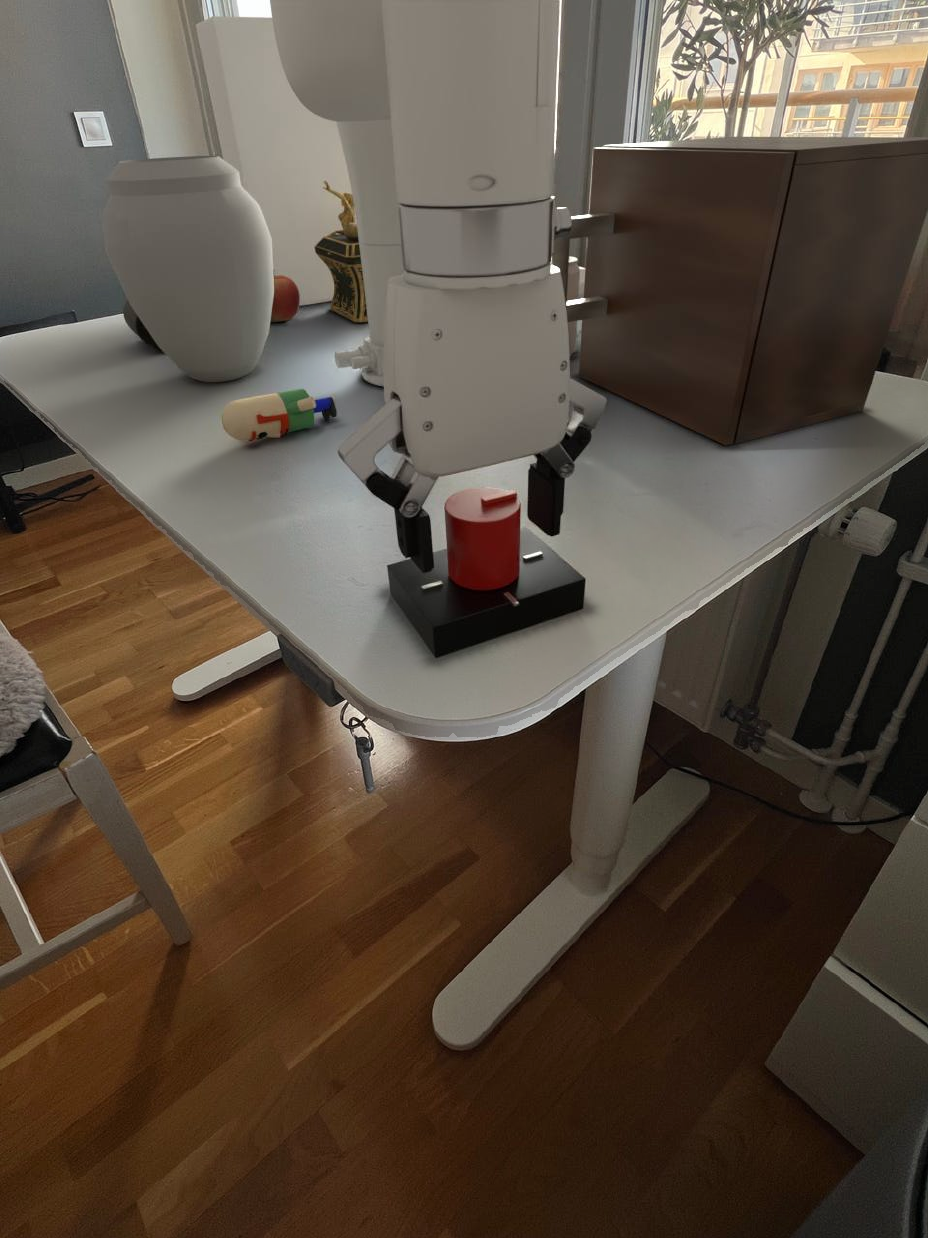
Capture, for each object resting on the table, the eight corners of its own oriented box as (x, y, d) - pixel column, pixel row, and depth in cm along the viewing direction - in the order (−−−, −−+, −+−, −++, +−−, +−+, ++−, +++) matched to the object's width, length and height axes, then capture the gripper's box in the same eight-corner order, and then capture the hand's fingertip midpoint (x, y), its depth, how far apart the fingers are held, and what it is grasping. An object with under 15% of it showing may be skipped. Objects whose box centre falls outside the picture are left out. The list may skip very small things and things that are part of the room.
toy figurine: (321, 432, 79) (221, 453, 73) (310, 393, 78) (207, 411, 72) (349, 419, 72) (240, 441, 66) (337, 376, 71) (225, 394, 65)
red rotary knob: (467, 598, 43) (464, 525, 39) (436, 563, 46) (431, 493, 43) (532, 578, 44) (535, 506, 41) (498, 545, 48) (498, 476, 44)
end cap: (131, 342, 107) (117, 296, 103) (177, 335, 110) (164, 290, 106) (144, 356, 100) (129, 307, 96) (192, 348, 103) (179, 300, 99)
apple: (282, 313, 120) (272, 263, 115) (313, 318, 116) (305, 266, 111) (246, 323, 115) (235, 271, 110) (278, 328, 111) (268, 275, 106)
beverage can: (573, 362, 90) (579, 262, 83) (525, 361, 91) (527, 262, 84) (576, 349, 95) (582, 253, 88) (531, 348, 96) (533, 254, 89)
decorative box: (321, 308, 122) (301, 179, 110) (370, 301, 125) (356, 174, 113) (362, 331, 107) (345, 185, 96) (417, 322, 111) (406, 180, 99)
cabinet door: (669, 460, 64) (716, 158, 50) (531, 385, 83) (536, 151, 69) (733, 443, 66) (795, 152, 52) (584, 374, 85) (600, 147, 71)
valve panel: (438, 663, 42) (436, 629, 40) (387, 591, 48) (383, 559, 47) (587, 613, 45) (590, 580, 44) (521, 552, 52) (522, 521, 50)
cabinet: (734, 444, 66) (798, 149, 52) (586, 375, 85) (602, 145, 71) (863, 410, 72) (952, 137, 58) (697, 353, 91) (733, 136, 77)
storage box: (269, 310, 122) (212, 15, 98) (252, 300, 129) (195, 24, 105) (374, 294, 130) (344, 18, 106) (352, 285, 137) (320, 26, 113)
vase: (294, 348, 101) (258, 151, 86) (296, 388, 86) (253, 157, 71) (159, 361, 98) (98, 159, 83) (136, 405, 83) (57, 167, 68)
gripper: (581, 220, 39) (565, 492, 49) (286, 252, 33) (338, 552, 44) (665, 233, 34) (627, 536, 44) (329, 275, 28) (377, 611, 38)
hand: (483, 543), depth 44 cm, fingers open, 8 cm apart
